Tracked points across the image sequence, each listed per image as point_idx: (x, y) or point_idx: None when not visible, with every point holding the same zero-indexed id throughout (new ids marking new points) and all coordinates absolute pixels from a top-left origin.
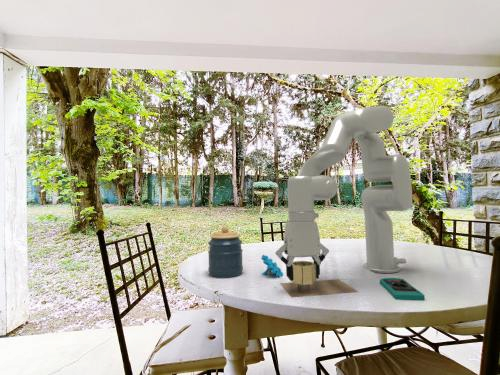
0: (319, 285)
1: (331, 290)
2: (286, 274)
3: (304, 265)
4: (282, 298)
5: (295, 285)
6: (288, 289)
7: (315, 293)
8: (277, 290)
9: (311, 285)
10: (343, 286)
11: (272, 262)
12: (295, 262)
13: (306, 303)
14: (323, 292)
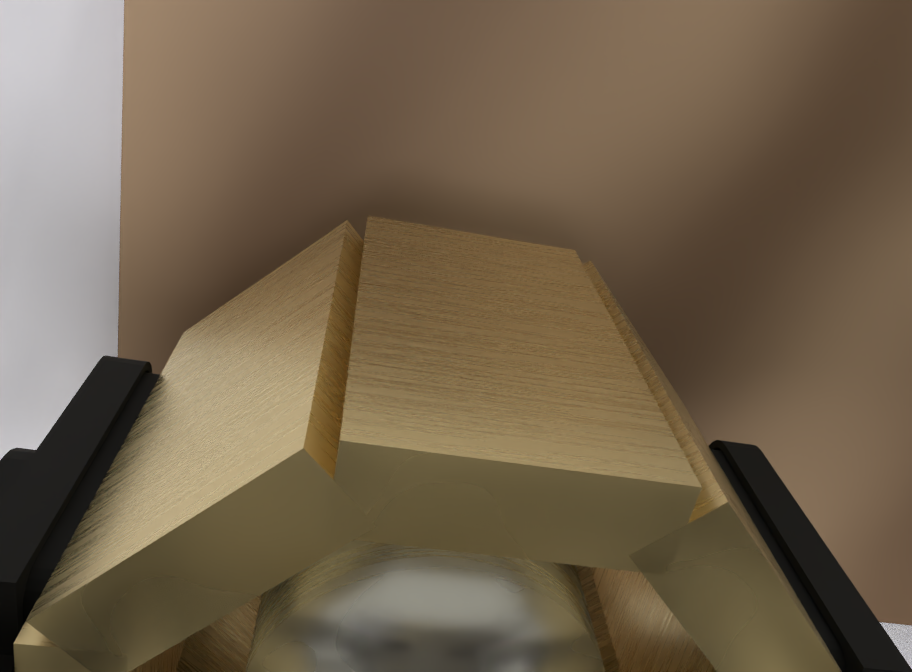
0: (830, 237)
1: (800, 497)
2: (6, 461)
3: (542, 640)
4: (3, 447)
5: (422, 57)
6: (189, 225)
7: None
8: (6, 69)
9: (707, 180)
10: None
11: None
12: (294, 568)
13: None
14: None
